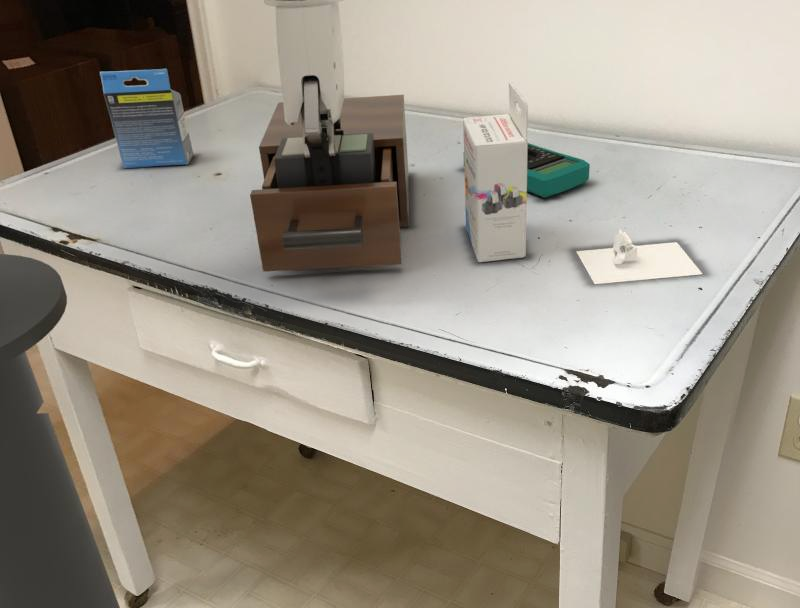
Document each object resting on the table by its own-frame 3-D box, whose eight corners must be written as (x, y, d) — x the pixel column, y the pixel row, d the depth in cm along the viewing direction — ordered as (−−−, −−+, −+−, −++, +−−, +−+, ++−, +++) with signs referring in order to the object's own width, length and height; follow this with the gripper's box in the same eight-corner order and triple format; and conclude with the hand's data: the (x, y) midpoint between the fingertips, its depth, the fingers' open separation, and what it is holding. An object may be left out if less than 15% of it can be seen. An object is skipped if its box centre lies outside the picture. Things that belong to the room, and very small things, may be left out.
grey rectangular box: (280, 205, 81) (273, 157, 79) (287, 182, 86) (281, 136, 84) (374, 199, 81) (370, 151, 78) (376, 177, 86) (372, 131, 83)
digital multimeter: (504, 154, 108) (504, 131, 106) (591, 184, 98) (593, 158, 96) (459, 169, 104) (458, 145, 103) (545, 201, 94) (546, 176, 93)
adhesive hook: (607, 257, 82) (609, 226, 80) (634, 254, 82) (637, 224, 81) (616, 271, 80) (618, 239, 78) (643, 268, 80) (647, 237, 78)
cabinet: (408, 227, 91) (403, 137, 86) (272, 234, 92) (258, 146, 86) (408, 175, 104) (403, 94, 98) (289, 182, 104) (278, 102, 99)
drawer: (401, 287, 78) (395, 206, 73) (255, 295, 78) (241, 215, 74) (402, 205, 94) (398, 135, 89) (281, 212, 94) (270, 142, 90)
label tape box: (194, 155, 115) (175, 60, 108) (187, 166, 112) (167, 68, 105) (130, 159, 116) (107, 64, 109) (122, 169, 112) (97, 72, 105)
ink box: (463, 228, 90) (460, 84, 81) (510, 224, 90) (512, 79, 82) (476, 263, 83) (474, 110, 74) (527, 258, 83) (531, 104, 75)
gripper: (275, -33, 80) (299, 156, 90) (246, 2, 66) (279, 221, 76) (354, -38, 80) (370, 152, 90) (343, -4, 66) (363, 216, 76)
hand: (328, 181), depth 83 cm, fingers closed on grey rectangular box, 6 cm apart
